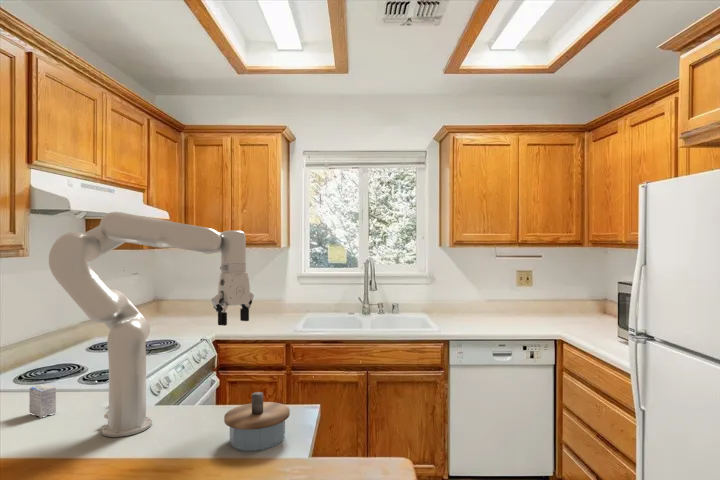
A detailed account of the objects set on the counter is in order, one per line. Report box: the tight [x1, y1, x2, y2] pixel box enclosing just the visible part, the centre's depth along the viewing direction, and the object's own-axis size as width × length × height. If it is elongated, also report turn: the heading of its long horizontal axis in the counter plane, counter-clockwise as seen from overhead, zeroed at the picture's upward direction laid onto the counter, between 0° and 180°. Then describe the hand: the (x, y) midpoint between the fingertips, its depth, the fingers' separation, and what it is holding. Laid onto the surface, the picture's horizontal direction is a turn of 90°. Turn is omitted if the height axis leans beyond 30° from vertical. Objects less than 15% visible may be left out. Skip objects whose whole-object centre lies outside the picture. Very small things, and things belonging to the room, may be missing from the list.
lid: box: [223, 391, 291, 429], centre depth 111 cm, size 17×17×6 cm
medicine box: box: [28, 384, 57, 418], centre depth 134 cm, size 8×4×9 cm, turn 59°
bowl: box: [229, 420, 286, 452], centre depth 111 cm, size 14×14×6 cm
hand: (233, 323), depth 132 cm, fingers open, 9 cm apart
